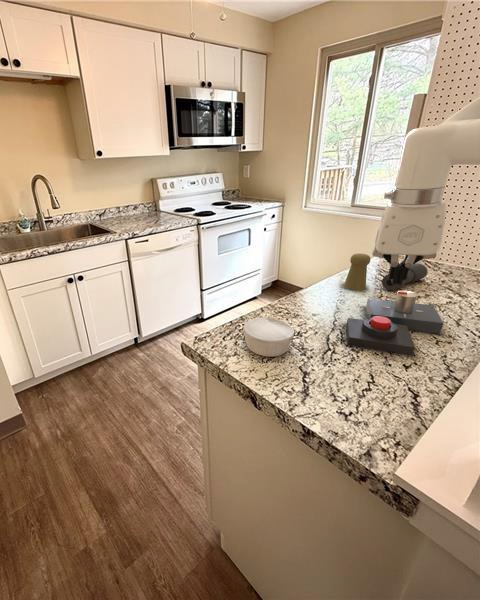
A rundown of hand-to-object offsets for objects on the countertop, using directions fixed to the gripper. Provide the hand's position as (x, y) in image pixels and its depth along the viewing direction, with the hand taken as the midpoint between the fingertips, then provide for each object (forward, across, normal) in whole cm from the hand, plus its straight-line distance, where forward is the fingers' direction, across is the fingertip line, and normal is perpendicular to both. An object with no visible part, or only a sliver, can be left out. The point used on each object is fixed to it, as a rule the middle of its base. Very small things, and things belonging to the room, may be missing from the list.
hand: (395, 282), depth 69 cm
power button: (+11, -1, -1) cm, 11 cm away
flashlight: (+15, +9, +36) cm, 41 cm away
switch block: (+14, -1, -1) cm, 15 cm away
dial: (+12, +5, +11) cm, 16 cm away
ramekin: (+14, -24, -13) cm, 31 cm away
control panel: (+15, +5, +10) cm, 19 cm away
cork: (+15, -4, +31) cm, 34 cm away
